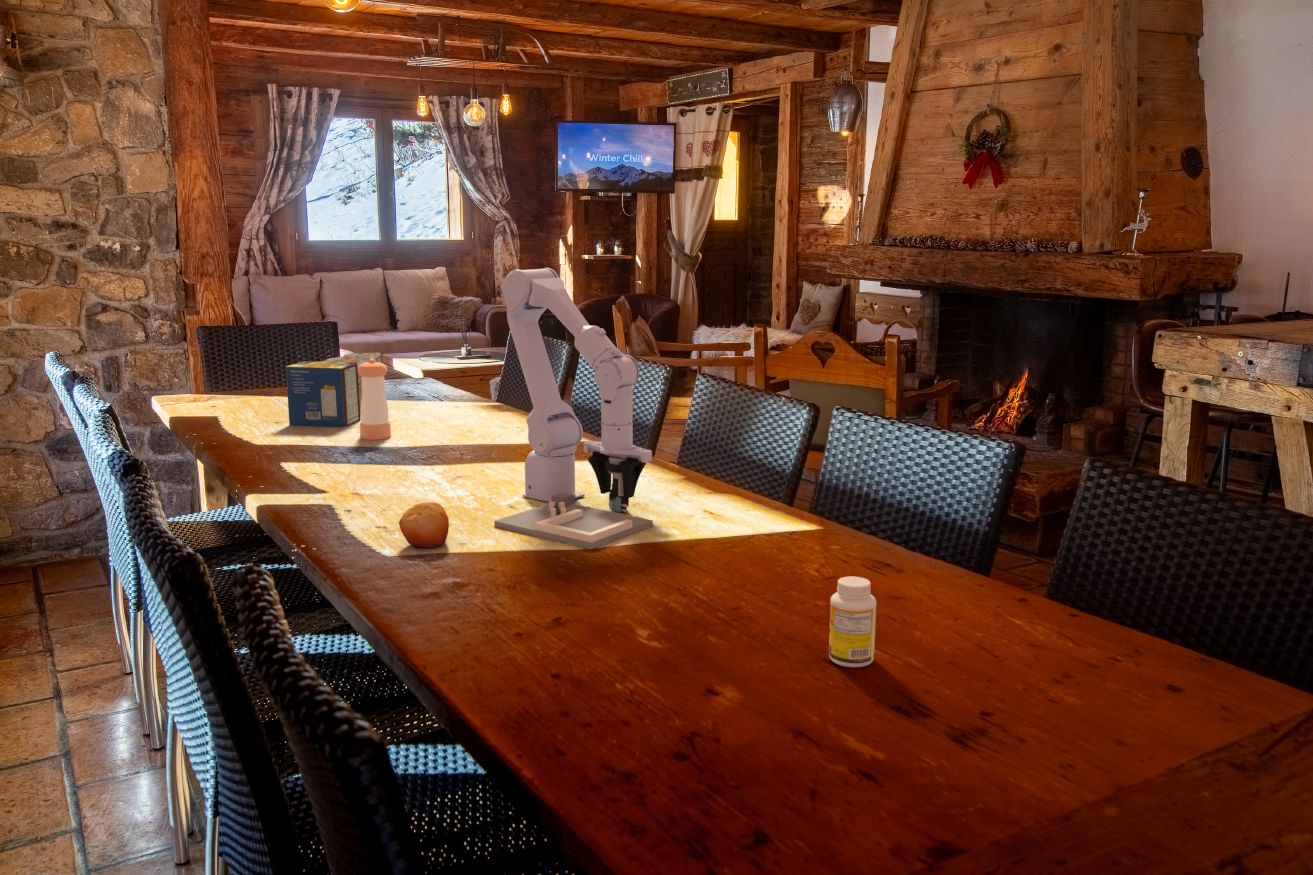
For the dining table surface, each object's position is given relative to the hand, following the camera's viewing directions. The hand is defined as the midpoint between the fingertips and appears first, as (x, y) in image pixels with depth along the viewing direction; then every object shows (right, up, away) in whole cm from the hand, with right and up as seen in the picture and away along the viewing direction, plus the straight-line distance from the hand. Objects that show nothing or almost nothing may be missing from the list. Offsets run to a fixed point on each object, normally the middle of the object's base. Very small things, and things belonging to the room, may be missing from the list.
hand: (617, 494), depth 201 cm
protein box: (-79, +14, +83) cm, 116 cm away
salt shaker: (-62, +11, +66) cm, 91 cm away
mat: (-7, -5, -10) cm, 13 cm away
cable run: (-10, -2, -3) cm, 11 cm away
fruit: (-31, -7, -21) cm, 38 cm away
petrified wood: (-80, +19, +108) cm, 136 cm away
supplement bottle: (+31, -17, -67) cm, 76 cm away
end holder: (-5, -5, -14) cm, 16 cm away
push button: (0, -3, 0) cm, 3 cm away
